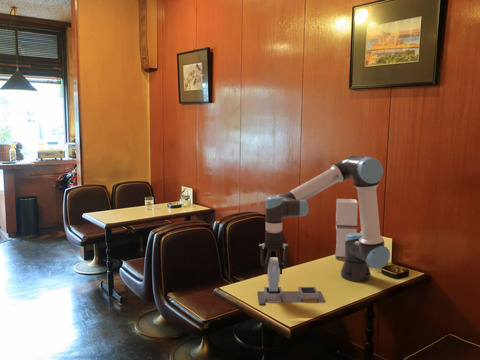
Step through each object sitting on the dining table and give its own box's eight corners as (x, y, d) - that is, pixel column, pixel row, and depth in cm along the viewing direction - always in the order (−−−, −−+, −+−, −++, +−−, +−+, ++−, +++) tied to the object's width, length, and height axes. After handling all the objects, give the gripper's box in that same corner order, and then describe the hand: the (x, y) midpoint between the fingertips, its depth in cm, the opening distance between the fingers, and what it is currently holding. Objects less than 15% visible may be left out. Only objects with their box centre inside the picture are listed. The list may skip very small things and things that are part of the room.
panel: (320, 293, 183) (320, 285, 183) (326, 304, 171) (326, 295, 171) (257, 293, 183) (257, 285, 183) (258, 304, 171) (258, 296, 171)
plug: (277, 287, 179) (277, 257, 177) (278, 292, 173) (278, 261, 171) (268, 287, 179) (268, 257, 177) (269, 292, 173) (269, 261, 171)
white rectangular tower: (353, 255, 239) (355, 199, 235) (355, 260, 229) (357, 202, 224) (334, 254, 241) (336, 198, 237) (335, 259, 231) (337, 201, 227)
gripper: (291, 228, 177) (290, 277, 180) (254, 228, 177) (254, 277, 180) (294, 233, 170) (293, 284, 173) (255, 233, 169) (255, 284, 172)
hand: (273, 280), depth 176 cm, fingers closed on plug, 4 cm apart
